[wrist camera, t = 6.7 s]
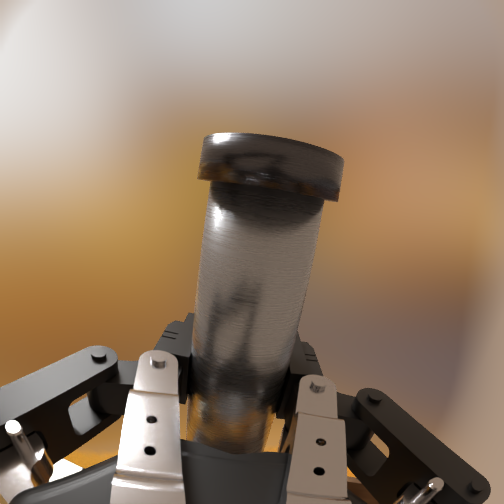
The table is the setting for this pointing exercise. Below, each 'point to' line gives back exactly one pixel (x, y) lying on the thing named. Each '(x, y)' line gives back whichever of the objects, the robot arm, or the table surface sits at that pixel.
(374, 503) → the bin
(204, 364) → the strut
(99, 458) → the table surface
